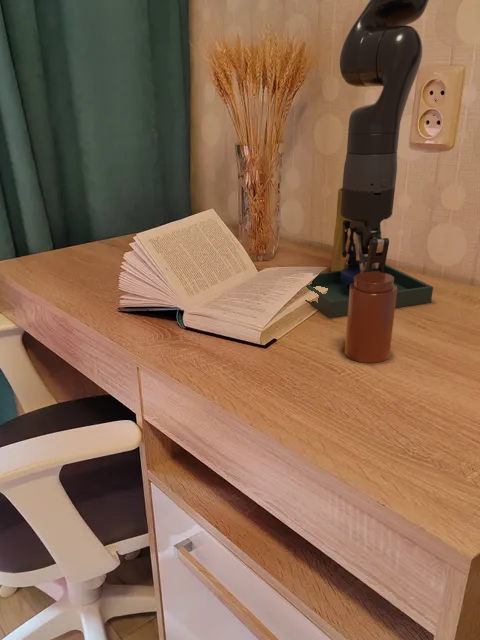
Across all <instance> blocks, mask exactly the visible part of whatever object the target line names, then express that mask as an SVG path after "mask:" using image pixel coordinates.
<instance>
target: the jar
mask: <svg viewBox="0 0 480 640" xmlns="http://www.w3.org/2000/svg"><path fill="white" fill-rule="evenodd" d="M396 296H397V286H396V285H394V277H393V276H392V275H389V274H386V273H381V272H363V273H359V274H357V275H356V276H355V277H354V283H352V284H351V285H350V289H349V302H348V315H346V329H345V341H344V355H345V356H346V357H347V358H348V359H350V360H351V361H355V362H359V363H366V364H376V363H382V362H384V361H386V360H388V359H389V357H390V354H391V347H392V346H391V345H392V340H393V339H392V338H393V330H394V329H393V328H394V323H395V322H394V321H395V311H396V308H395V305H396Z"/></svg>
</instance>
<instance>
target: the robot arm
mask: <svg viewBox="0 0 480 640" xmlns="http://www.w3.org/2000/svg"><path fill="white" fill-rule="evenodd" d="M429 1H430V0H368V2H367V4H366V6H365V7H364V9H363V10H362V12H361V14H359V16H358V18H357V19H356V21H355V22H354V23H353V25H352V27H351V28H350V30H349V31H348V34H347V36H346V37H345V40H344V42H343V45H342V47H341V51H340V56H339V70H340V74H341V77H342V79H343V81H344V82H345V83H346V84H348V85H349V86H351V87H354V88H355V87H356V88H365V87H366V88H367V87H382V90H381V92H380V95H379V97H378V98H377V100H376V101H375V102H374V103H371V104H368V105H363V106H359V107H357V108H355V109H354V110H352V112H350V116H349V118H348V119H349V120H348V130H347V142H346V143H347V144H346V155H345V160H344V166H343V174H342V175H343V176H342V187H341V188H342V201H341V215H342V217H344V218H345V219H348V220H343V236H342V256H343V257H346V258H345V262H346V264H348V265H347V268H348V267H360V273H363V272H381V273H384V268H385V264H386V262H387V256H388V253H389V252H388V251H389V246H390V239H389V237H383V236H382V230H381V228H382V227H381V223H382V222H383V221H384V220H388V219H390V218H391V217H392V215H393V210H394V202H395V201H394V200H395V192H396V183H397V174H398V149H399V139H400V131H401V129H400V128H401V121H402V119H403V114H404V112H405V109H406V105H407V103H408V99H409V96H410V93H411V90H412V88H413V85H414V82H415V80H416V77H417V75H418V72H419V69H420V66H421V63H422V57H423V43H422V39H421V36H420V34H419V32H418V30H417V29H415V27H413V26H411V24H412V23H414V22H416V21H417V20H419V19H420V18H421V17H422V16H423V14H424V12H425V10H426V8H427V6H428V4H429ZM364 254H365V256H364ZM378 265H379V266H378ZM372 267H373V269H372ZM346 286H347V287H348V288H350V286H349V285H346Z"/></svg>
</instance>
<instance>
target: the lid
mask: <svg viewBox="0 0 480 640" xmlns="http://www.w3.org/2000/svg"><path fill="white" fill-rule="evenodd" d="M372 269H373V268H372ZM359 273H360V267H348V268H345V269H343V270H342V271H341V277H340V280H341V282H342V283H344V284H346V285H349V286H350V285H351V284H352V283H354V277H355V276H356V275H357V274H359Z"/></svg>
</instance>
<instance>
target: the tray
mask: <svg viewBox="0 0 480 640" xmlns="http://www.w3.org/2000/svg"><path fill="white" fill-rule="evenodd" d="M378 266H379V264H378ZM372 268H373V267H372ZM341 271H342V270H341ZM341 271H333V272H332V271H326V272H319V273H320V274H319V275H318V276H317V277H316V278H315V279H314V280H313V281H312V284H310V285H307V286H306V287H307V288H308V289H309V290H311V291H314V292H315V293H317V294H318V295H319V298H318V303H317V302H316V301H312V302H311V303H309V304H310V305H311V306H313V307H314V308H315V309H317V310H318V311H319V312H320V313H322V314H324V315H325V316H327V318H329V319H333V318H339V317H346V316H347V315H348V302H349V289H350V288H348V287H347V286H346V284H344V283H342V282H341V280H340V277H341ZM384 273H386V274H389V275H392V276H393V277H394V285H396V286H397V296H396V305H395V309H399V308H403V307H409V306H416V305H422V304H428V303H432V299H433V292H434V286H433V285H430V284H428V283H426V282H424V281H422V280H419V279H418V278H415V277H413V276H411V275H409V274H407V273H405V272H403V271H401V270H399V269H397V268H395V267H392V266H390V265H388V264H386V263H385V268H384ZM316 286H321V287H325V288H328V291H327V293H326V294H322V293H321V292H319V291H318V290H316V289H315V288H313V287H316Z"/></svg>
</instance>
